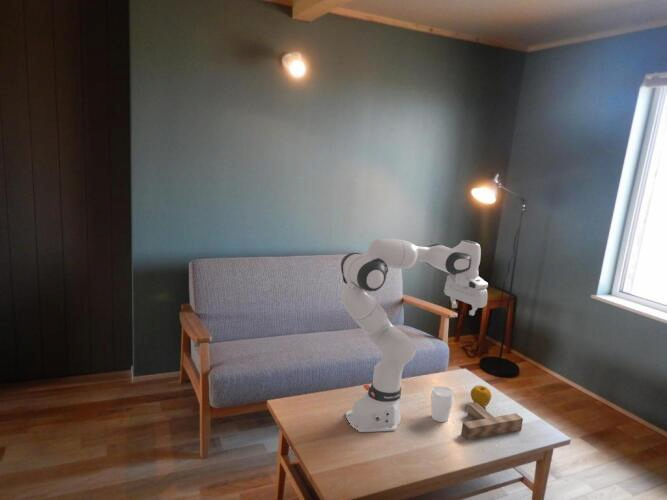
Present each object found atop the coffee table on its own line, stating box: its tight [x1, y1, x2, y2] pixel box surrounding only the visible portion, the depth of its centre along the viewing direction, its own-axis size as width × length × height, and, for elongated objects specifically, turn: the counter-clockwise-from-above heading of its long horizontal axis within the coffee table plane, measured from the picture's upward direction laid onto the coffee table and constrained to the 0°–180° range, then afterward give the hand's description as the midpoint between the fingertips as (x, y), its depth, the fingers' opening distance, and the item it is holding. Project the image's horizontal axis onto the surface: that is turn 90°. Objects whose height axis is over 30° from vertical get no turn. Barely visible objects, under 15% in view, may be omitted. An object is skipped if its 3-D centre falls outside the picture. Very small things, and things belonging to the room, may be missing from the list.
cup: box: [430, 385, 455, 423], centre depth 188 cm, size 9×9×12 cm
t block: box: [460, 402, 524, 441], centre depth 186 cm, size 26×15×5 cm, turn 110°
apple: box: [470, 385, 492, 408], centre depth 200 cm, size 9×8×9 cm
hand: (462, 311), depth 190 cm, fingers open, 8 cm apart
